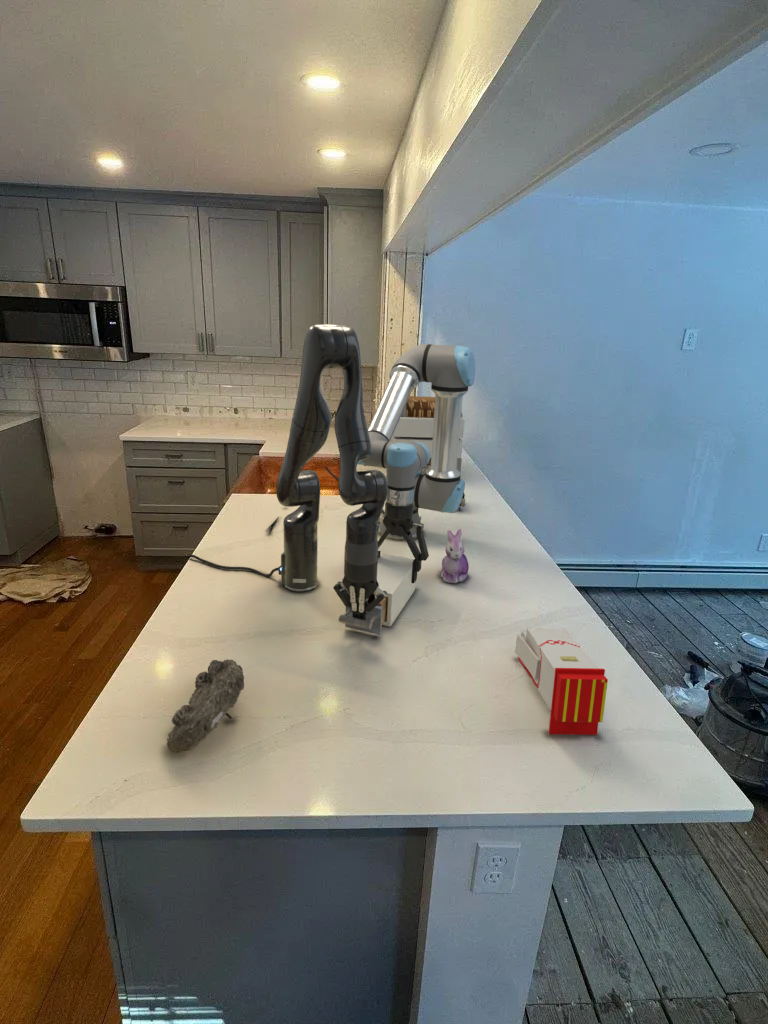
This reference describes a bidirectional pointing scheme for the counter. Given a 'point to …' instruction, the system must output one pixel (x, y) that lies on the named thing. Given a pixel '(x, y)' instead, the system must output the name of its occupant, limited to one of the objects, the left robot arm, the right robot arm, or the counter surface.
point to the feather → (272, 525)
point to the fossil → (206, 705)
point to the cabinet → (395, 583)
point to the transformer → (421, 425)
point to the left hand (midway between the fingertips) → (359, 623)
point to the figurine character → (462, 502)
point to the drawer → (367, 617)
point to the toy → (564, 680)
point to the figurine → (454, 559)
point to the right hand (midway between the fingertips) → (395, 577)
